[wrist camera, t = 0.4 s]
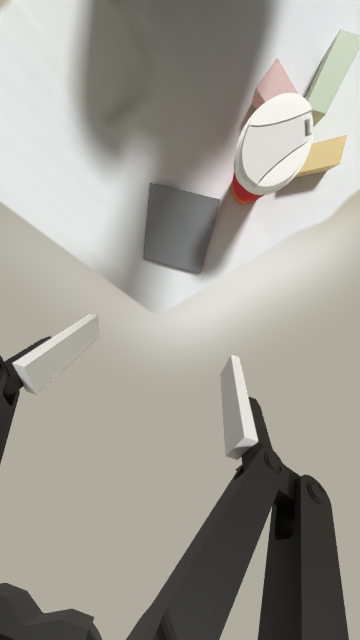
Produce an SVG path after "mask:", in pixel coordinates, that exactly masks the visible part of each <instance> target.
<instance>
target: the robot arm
mask: <svg viewBox="0 0 360 640" xmlns="http://www.w3.org/2000/svg"><path fill="white" fill-rule="evenodd" d="M98 329H99V328H98V316H97V315H94V314H91V313H90V314H88V315H87V316H85V317H83V318H82V319H80V320H79V321H77V322H76V323H74V324H73V325H71V326H70V327H68V328H66V329H65V330H63V331H62V332H60V333H59V334H57V335H56V336H54V337H46V338H44V339H41V340H39V341H38V342H36V343H34V345H31V346H29V347H28V348H27V349H24V350H23V351H21V352H20V353H18V354H16V355H15V356H13V357H11V358H10V359H8V360H7V361H5V362H4V361H3V359H2V357H1V356H0V463H1V459H2V456H3V452H4V448H5V445H6V441H7V438H8V434H9V430H10V427H11V423H12V419H13V416H14V412H15V408H16V405H17V401H18V397H19V394H20V393H19V389H20V388H22V387H23V386H24V387H25V390H26V391H28V392H30V393H33V394H38V393H39V392H40V391H41V390H42V389H43V388H44V387H45V386H47V385H48V384H49V383H50V382H51V381H52V380H53V379H54V378H55V377H57V375H59V374H60V373H61V372H62V371H63V370H64V369H65V368H66V367H67V366H69V365H70V364H71V363H72V362H73V361H74V360H75V359H76V358H77V357H78V356H80V355H81V353H83V352H84V351H85V350H86V349H87V348H88V347H89V346H91V345H92V344H93V343H94V342H95V341H96V340H97V339H98V338H99V330H98ZM221 391H222V405H223V422H224V437H225V452H226V456H227V457H230V458H233V459H236V460H238V459H239V458H240V457H242V465H241V466H240V467H239V468H237V469H236V471H237V472H236V474H235V475H234V477H233V479H232V480H231V482H230V483H229V485H228V486H227V488H226V490H225V491H224V493H223V494H222V496H221V498H220V499H219V500H218V502H217V504H216V505H215V507H214V508H213V510H212V511H211V513H210V515H209V516H208V518H207V519H206V521H205V522H204V524H203V525H202V527H201V528H200V530H199V532H198V533H197V535H196V536H195V538H194V539H193V541H192V543H191V544H190V546H189V547H188V549H187V550H186V552H185V553H184V555H183V557H182V558H181V560H180V561H179V563H178V564H177V566H176V568H175V569H174V571H173V572H172V574H171V575H170V577H169V579H168V580H167V582H166V583H165V585H164V586H163V588H162V589H161V591H160V592H159V594H158V596H157V597H156V599H155V600H154V602H153V603H152V605H151V606H150V607H149V609H148V610H147V611H146V612H145V613H144V614H143V616H142V617H141V618H140V619H139V621H138V622H137V624H136V625H135V627H134V628H133V630H132V631H131V633H130V635H129V636H128V638H127V639H126V640H219V639H220V636H221V633H222V631H223V629H224V626H225V623H226V621H227V618H228V616H229V613H230V611H231V608H232V606H233V603H234V601H235V598H236V595H237V593H238V590H239V588H240V585H241V583H242V580H243V578H244V575H245V573H246V570H247V568H248V565H249V563H250V560H251V558H252V554H253V552H254V550H255V547H256V545H257V542H258V540H259V537H260V535H261V532H262V530H263V527H264V524H265V522H266V520H267V517H268V514H269V512H270V509H271V507H272V513H271V523H270V532H269V541H268V551H267V560H266V569H265V579H264V587H263V597H262V607H261V615H260V625H259V635H258V640H349V639H348V630H347V622H346V615H345V607H344V599H343V591H342V584H341V576H340V568H339V561H338V553H337V545H336V538H335V530H334V522H333V515H332V507H331V503H330V499H329V497H328V495H327V493H326V491H325V490H324V488H323V487H322V486H321V484H320V483H319V482H318V481H317V480H315V479H314V478H313V477H311V476H309V475H303V476H299V475H298V474H296V473H295V472H293V471H292V470H290V469H289V468H287V467H286V466H285V465H284V464H283V463H282V462H281V460H280V458H279V457H278V455H277V454H276V453H275V452H274V451H273V449H272V446H271V442H270V439H269V436H268V432H267V428H266V425H265V422H264V418H263V416H262V411H261V407H260V406H259V404H258V402H257V400H256V399H254V398H251V397H248V395H247V390H246V385H245V381H244V376H243V372H242V368H241V363H240V359H239V357H237V356H233V355H231V356H230V357H229V360H228V361H227V363H226V365H225V367H224V369H223V371H222V372H221ZM93 620H94V617H92V616H90V615H87V614H84V613H82V612H80V611H77V610H74V609H68V610H62V611H56V612H51V613H43V612H42V611H41V610H40V608H39V607H38V606H37V604H36V603H35V601H34V600H33V599H32V597H31V596H30V594H29V593H28V592H27V591H26V590H23V589H20V588H18V587H15V586H12V585H10V584H8V583H1V584H0V640H102V638H101V636H100V633H99V631H98V629H97V628H96V627H95V625H94V624H93Z"/></svg>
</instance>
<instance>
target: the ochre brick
mask: <svg viewBox="0 0 360 640" xmlns="http://www.w3.org/2000/svg"><path fill="white" fill-rule="evenodd" d="M346 137H347V135H345V136H341V137H337V138H333V139H329V140H325V141H321V142H317V143H313V144H312V145H311V148H310V151H309V154H308V156H307V158H306V161H305V162H304V164H303V166H302V168H301V169H300V171H299V172H298V173H297V175H296V176H295V177H294V178H296V177H300V176H305V175H310V174H314V173H319V172H324V171H328V170H330V169H331V168H333V167H335V166H337V165H338V164H340V161H341V157H342V153H343V149H344V145H345V141H346Z"/></svg>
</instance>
